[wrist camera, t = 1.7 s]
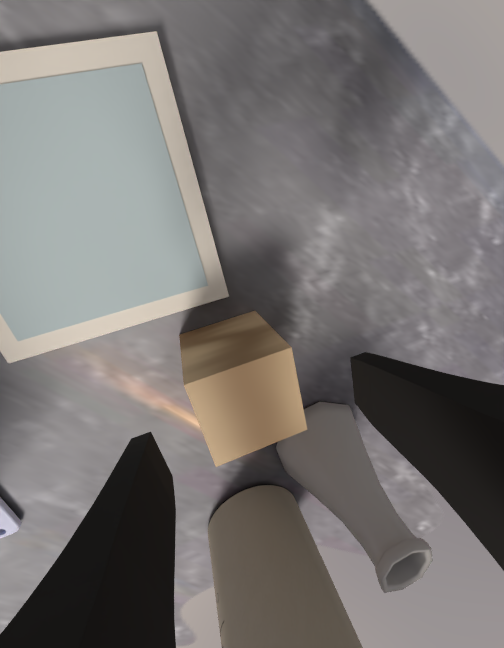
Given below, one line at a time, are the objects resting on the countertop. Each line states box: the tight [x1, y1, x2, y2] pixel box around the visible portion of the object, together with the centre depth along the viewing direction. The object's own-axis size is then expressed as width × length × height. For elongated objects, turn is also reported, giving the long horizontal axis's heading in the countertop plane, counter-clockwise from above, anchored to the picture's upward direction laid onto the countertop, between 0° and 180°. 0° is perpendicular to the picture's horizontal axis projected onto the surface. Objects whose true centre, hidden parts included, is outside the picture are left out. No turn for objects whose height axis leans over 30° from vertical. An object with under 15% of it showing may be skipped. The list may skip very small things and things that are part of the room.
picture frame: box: [0, 31, 229, 363], centre depth 13 cm, size 12×12×1 cm
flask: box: [276, 402, 432, 593], centre depth 19 cm, size 7×7×10 cm
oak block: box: [179, 311, 307, 467], centre depth 16 cm, size 5×5×6 cm
